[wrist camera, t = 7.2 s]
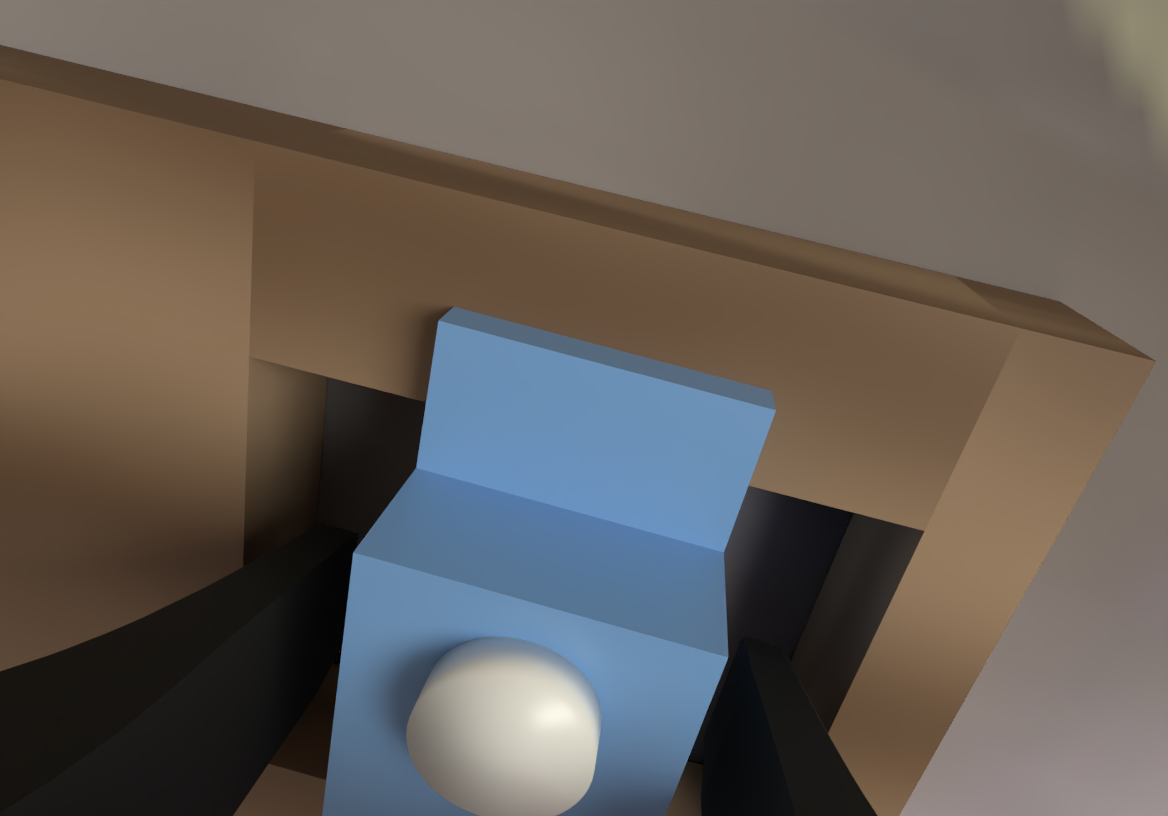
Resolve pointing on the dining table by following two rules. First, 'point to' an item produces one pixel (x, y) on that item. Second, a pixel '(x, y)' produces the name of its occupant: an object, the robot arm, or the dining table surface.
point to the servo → (543, 583)
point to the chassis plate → (403, 365)
